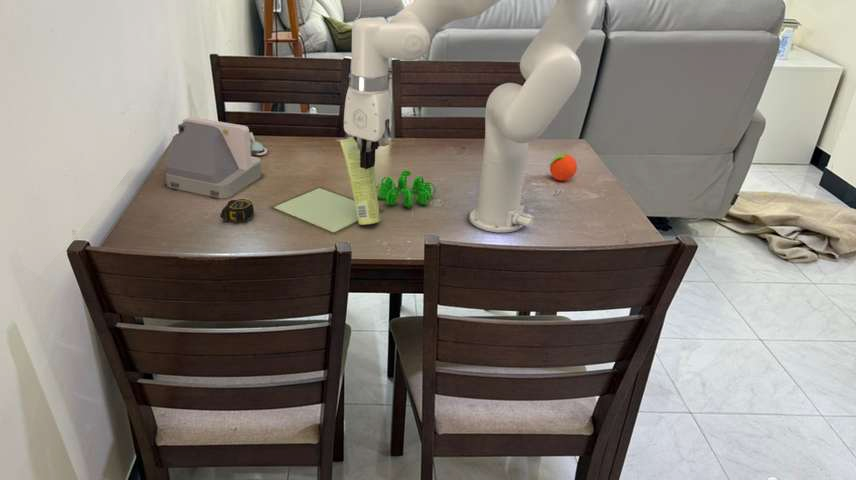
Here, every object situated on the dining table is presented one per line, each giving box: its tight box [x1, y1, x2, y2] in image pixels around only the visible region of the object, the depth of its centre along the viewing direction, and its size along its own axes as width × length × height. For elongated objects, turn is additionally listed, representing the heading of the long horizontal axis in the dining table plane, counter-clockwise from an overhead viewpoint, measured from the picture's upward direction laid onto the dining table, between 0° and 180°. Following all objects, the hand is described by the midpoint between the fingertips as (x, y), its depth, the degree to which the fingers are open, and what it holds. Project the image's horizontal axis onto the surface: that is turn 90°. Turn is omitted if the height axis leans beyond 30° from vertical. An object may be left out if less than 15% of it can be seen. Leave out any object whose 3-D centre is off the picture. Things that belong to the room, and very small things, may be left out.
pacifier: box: [249, 131, 268, 157], centre depth 194 cm, size 7×6×6 cm
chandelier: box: [376, 170, 436, 209], centre depth 167 cm, size 15×15×7 cm
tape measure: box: [219, 198, 255, 222], centre depth 157 cm, size 7×7×4 cm
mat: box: [273, 187, 359, 233], centre depth 162 cm, size 20×16×1 cm
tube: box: [339, 137, 381, 226], centre depth 152 cm, size 6×5×20 cm
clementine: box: [549, 153, 578, 181], centre depth 178 cm, size 8×7×7 cm
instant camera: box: [165, 116, 262, 199], centre depth 173 cm, size 21×21×15 cm
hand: (367, 166), depth 148 cm, fingers closed
